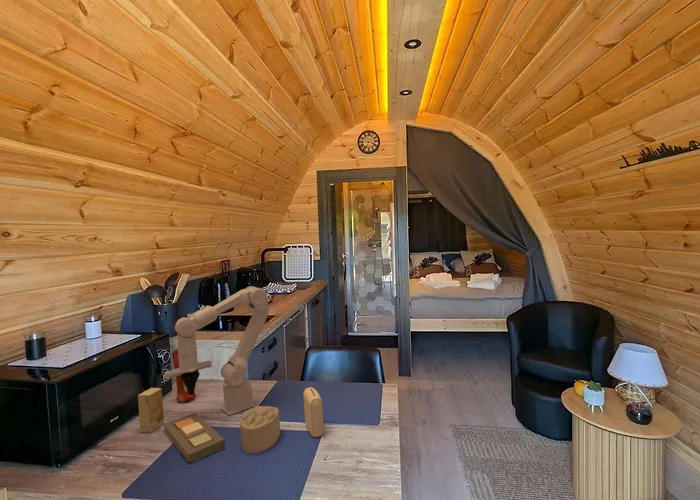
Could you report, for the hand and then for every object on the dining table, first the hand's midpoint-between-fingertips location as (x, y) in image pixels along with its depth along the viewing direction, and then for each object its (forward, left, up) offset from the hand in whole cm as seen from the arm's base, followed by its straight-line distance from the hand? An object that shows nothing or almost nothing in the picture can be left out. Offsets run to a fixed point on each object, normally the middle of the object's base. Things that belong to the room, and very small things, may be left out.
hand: (191, 393), depth 124 cm
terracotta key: (+4, +5, -9) cm, 11 cm away
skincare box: (+11, -6, -10) cm, 16 cm away
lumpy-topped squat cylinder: (-10, +28, -10) cm, 31 cm away
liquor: (-4, -20, -10) cm, 23 cm away
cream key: (+4, +12, -8) cm, 15 cm away
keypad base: (+4, +12, -9) cm, 16 cm away
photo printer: (-25, +35, -10) cm, 44 cm away
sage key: (+4, +19, -9) cm, 21 cm away
